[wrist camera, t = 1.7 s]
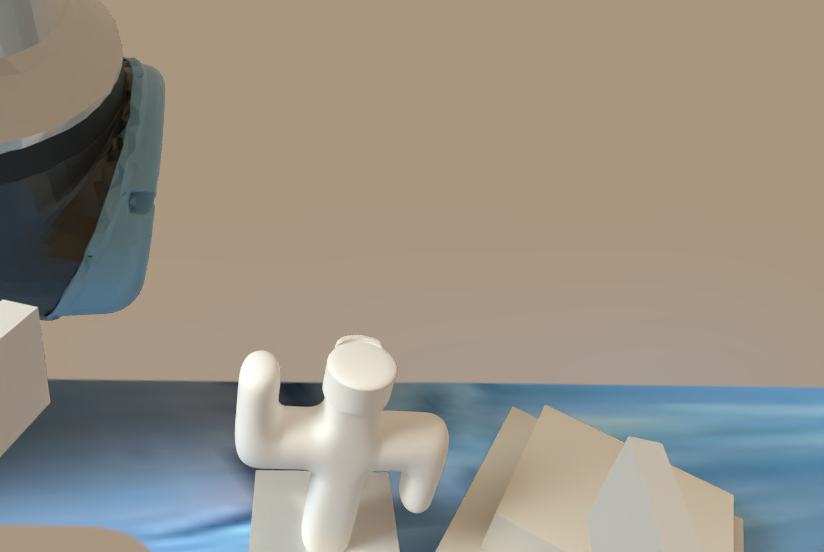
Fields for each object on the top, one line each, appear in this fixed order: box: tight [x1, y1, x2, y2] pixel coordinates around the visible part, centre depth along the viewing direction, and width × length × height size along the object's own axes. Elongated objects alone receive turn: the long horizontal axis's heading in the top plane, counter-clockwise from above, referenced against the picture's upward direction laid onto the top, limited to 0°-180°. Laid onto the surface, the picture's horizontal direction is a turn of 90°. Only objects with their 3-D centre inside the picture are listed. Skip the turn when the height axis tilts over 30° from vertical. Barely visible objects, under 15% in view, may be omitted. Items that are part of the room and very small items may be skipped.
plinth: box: [435, 404, 744, 552], centre depth 35 cm, size 16×14×5 cm
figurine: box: [235, 335, 449, 552], centre depth 28 cm, size 7×9×15 cm
